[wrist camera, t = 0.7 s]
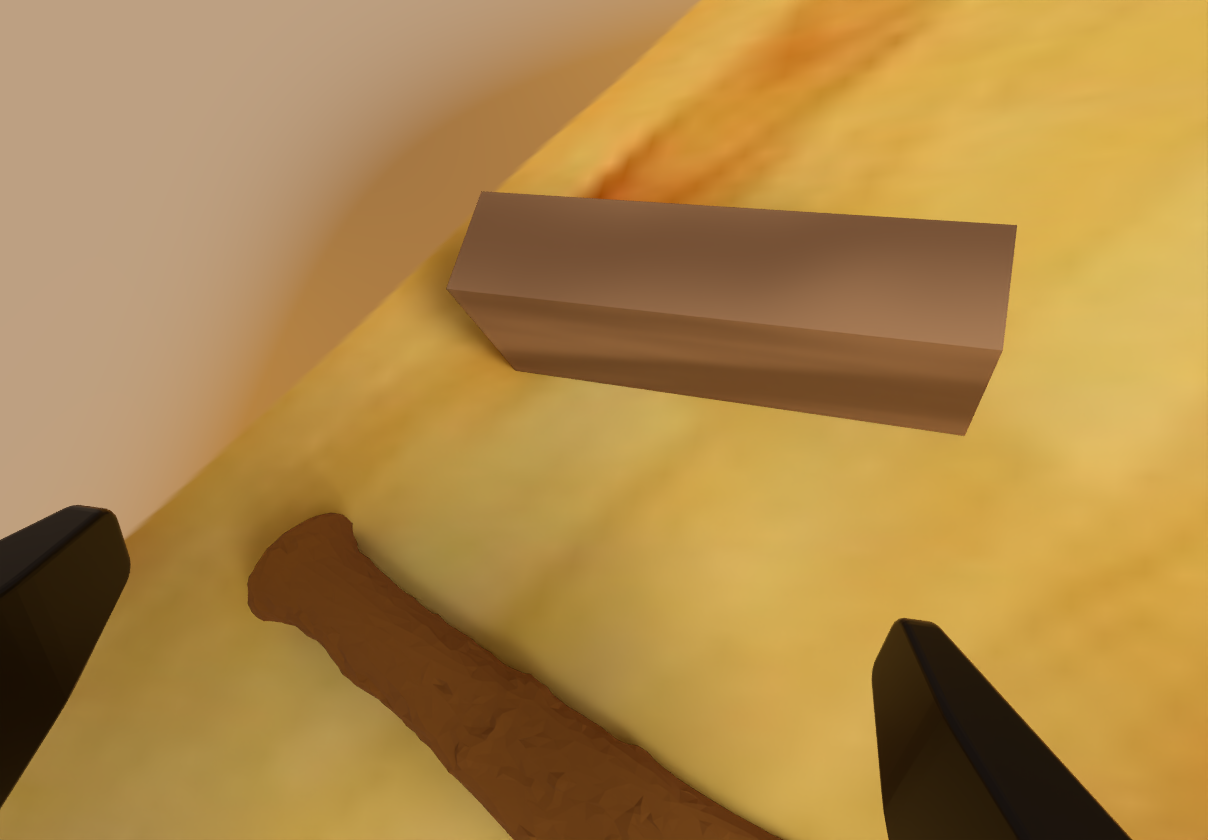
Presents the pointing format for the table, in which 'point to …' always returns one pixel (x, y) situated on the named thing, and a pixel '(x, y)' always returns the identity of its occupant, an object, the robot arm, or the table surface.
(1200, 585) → the table surface
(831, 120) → the table surface
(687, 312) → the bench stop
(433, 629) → the primitive tool
